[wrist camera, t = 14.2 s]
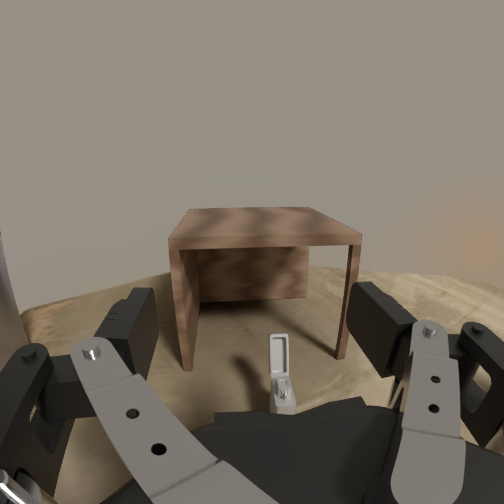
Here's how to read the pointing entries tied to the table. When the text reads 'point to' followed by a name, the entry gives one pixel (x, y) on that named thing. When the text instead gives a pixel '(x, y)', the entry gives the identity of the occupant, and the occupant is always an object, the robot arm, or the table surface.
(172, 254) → the open side box
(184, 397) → the table surface
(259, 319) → the table surface
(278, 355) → the lighter
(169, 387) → the table surface
